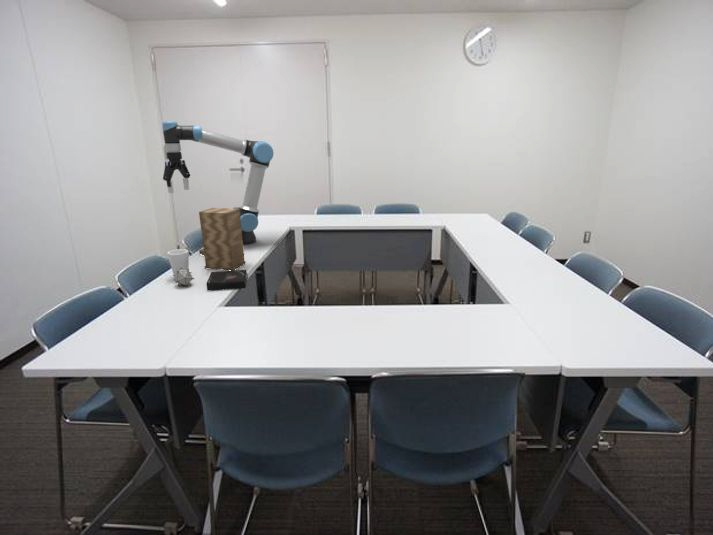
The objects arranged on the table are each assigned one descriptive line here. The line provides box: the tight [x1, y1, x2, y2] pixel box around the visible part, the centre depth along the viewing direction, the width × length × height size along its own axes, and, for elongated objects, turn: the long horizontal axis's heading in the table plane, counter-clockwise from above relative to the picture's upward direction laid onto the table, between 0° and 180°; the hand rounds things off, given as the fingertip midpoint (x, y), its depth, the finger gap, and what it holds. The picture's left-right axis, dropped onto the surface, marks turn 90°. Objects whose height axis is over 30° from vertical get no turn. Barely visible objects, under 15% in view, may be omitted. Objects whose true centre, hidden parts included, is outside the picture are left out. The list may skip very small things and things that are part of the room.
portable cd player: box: [206, 269, 248, 291], centre depth 190 cm, size 16×17×4 cm
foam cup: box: [167, 248, 190, 277], centre depth 196 cm, size 10×9×13 cm
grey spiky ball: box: [172, 268, 195, 288], centre depth 187 cm, size 9×8×10 cm
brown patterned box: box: [198, 207, 247, 271], centre depth 210 cm, size 17×13×30 cm
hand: (179, 191), depth 224 cm, fingers open, 13 cm apart
